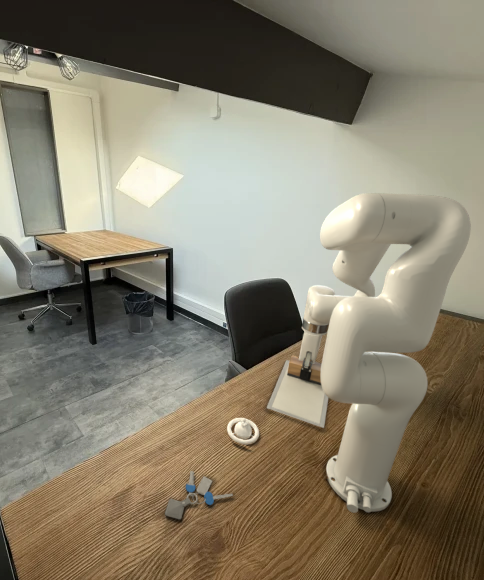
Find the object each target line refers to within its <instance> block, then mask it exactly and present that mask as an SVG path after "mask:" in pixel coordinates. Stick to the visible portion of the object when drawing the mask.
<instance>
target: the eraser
mask: <svg viewBox="0 0 484 580" xmlns="http://www.w3.org/2000/svg"><path fill="white" fill-rule="evenodd" d="M303 360H304V359H303ZM305 360H306V359H305ZM289 361H290V362H289V367H288V373H287V375H288V376H291V377H294V378H298V379H300V378H299V377H300V371H301V368H302V364H303V361H301V360H299V356H296V355H293V354H292V355H291V356H290V359H289ZM310 361H312V360H310ZM321 364H322V362H318V361H315V363H314V364H312V368H311V370H312V372H311V377H310V381H309V382H311V383H315V384H318V385H321V379H320V374H321ZM304 365H305V364H304ZM309 366H310V364H309ZM304 381H305V380H304ZM321 386H322V385H321Z"/></svg>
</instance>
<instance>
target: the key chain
mask: <svg viewBox="0 0 484 580" xmlns="http://www.w3.org/2000/svg"><path fill="white" fill-rule="evenodd" d="M194 480H195V472H194V470H190V471H189V480H188V482H187V483H185V490H186V491H187V493H188V494H187V495H186V498H185V499H183V500H181V501H180V500H177V499H173V498H169V499H168V503H167V505H166V509H165V511H164V516H166V517H168V518H169V517H170V518H173V519H176V520H181V519H182V518H183V514H184V509H185V508H186V507H187V506H190V505H195V504H198V505H199V504H203V503H206V505H208V506H213V504H214V502H215V500H219V499H226V498H230V497H234V495H233V493H225V494H218V495H214V494H213V493H212V492H211V491H209V489H210V487H211V485H212V483H213V480H212V479H210V478H208V477H207V476H204V475H203V477H202V478H201V480H200V482H199V484H198V485H197V488H196V485H195V481H194ZM194 492H195V493H194ZM197 494H200V495H202V496H204V497H203V498H204V499H203V501H202V502H198V501H199V500H198V499H199V497H198V495H197ZM189 497H192V501H193V502H192V501H191V500H190V498H189ZM194 497H195V499H194Z"/></svg>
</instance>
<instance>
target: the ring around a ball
mask: <svg viewBox="0 0 484 580" xmlns="http://www.w3.org/2000/svg"><path fill="white" fill-rule="evenodd" d="M234 425H235V426H234ZM233 426H234V432H233V431H232V427H233ZM252 429H253V430H254V434H252V433H253V430H252ZM226 432H227V434H228V436H229V438H230V439H231V440H232V441H234V442H235V443H238V444H239V445H246V446H247V445H248V446H249V445H252V444H254V443H256V442H257V441H258V439H259V437H260V430H259V427H258V426H257V425H256V423H255V422H254V421H252V420H250V419H249V418H245V417H235V418H233V419H231V420H230V421H229V422H228V424H227V427H226Z"/></svg>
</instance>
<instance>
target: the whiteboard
mask: <svg viewBox="0 0 484 580" xmlns="http://www.w3.org/2000/svg"><path fill="white" fill-rule="evenodd" d="M289 362H290V359H289V360H288V359H286V360H285V362H284V365H283V367H282V370H281V372H280V374H279V377H278V380H277V381H276V384H275V386H274V389H273V392H272V394H271V396H270V398H269V401H268V403H267V406H266V409H268V410H271V411H274V412H277V413H279V414H283V415H285V416H289V417H291V418H294V419H297V420H300V421H303V422H305V423H308V424H310V425H313V426H317V427H320V428H323V429H324V428H325V424H326V418H327V410H328V404H329V403H328V402H329V397H328V396H327V395H326V394H325V393H324V391H323V389H322V386H321V385H318V384H315V383H311V382H308V381H304V380H301V379H298V378H294V377H291V376H288V375H287V373H288V367H289Z"/></svg>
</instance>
